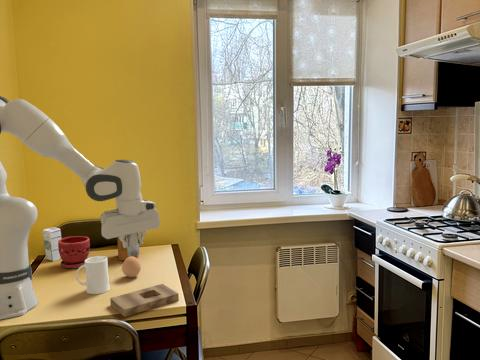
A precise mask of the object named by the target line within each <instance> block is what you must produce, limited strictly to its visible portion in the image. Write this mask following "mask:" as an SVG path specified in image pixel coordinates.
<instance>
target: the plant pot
mask: <svg viewBox="0 0 480 360" xmlns="http://www.w3.org/2000/svg"><path fill="white" fill-rule="evenodd" d="M90 247H91V243H90V238H89V237H88V236H85V235H84V236H83V235H77V236H75V235H74V236H67V237H63V238H62V237H61V239H60V240H59V241H58V248H59V254H60V257H61V259H60V260H62V261H60V265H61V267H63V268H65V269H78V268H79V267H80V266H82V265H84V264H85V260H86V259H87V258H89V257H88V256H89V254H90V249H91V248H90Z"/></svg>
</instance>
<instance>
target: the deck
mask: <svg viewBox="0 0 480 360" xmlns="http://www.w3.org/2000/svg"><path fill="white" fill-rule="evenodd" d="M179 298H180V297H179V293H178V292H177V291H176V290H174V289H172V288H170V287H169V286H166V285H165V284H164V283H161V284H157V285H153V286H149V287H145V288H142V289H139V290H136V291H135V290H134V291H132V292H128V293H123V294H121V295H120V294H119V295H117V296H113V297H110V299H109V300H110V306H111V307H113V309H114V310H116V311H117V312H118V313H119V314H120V315H121V316H122V317H124V318H126V317H129V316H133V315H136V314H139V313H142V312H145V311H148V310H153V309H155V308H158V307H162V306H165V305H167V304H171V303H174V302H178V301H179Z"/></svg>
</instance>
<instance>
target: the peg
mask: <svg viewBox="0 0 480 360" xmlns="http://www.w3.org/2000/svg"><path fill="white" fill-rule="evenodd" d="M138 238H139V232H138V233H133V234H129V235H126V240H127V242H128V243H129V244H128V245H129V247H127V251H128V256H137V255H138V256H139V255H140V253H141V252H140V244H139V240H138Z"/></svg>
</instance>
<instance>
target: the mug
mask: <svg viewBox="0 0 480 360" xmlns="http://www.w3.org/2000/svg"><path fill="white" fill-rule="evenodd" d="M108 263H109V262H108V256H104V255H96V256H95V255H94V256H90V257H87V259H86V260H85V264H84V265H82V266H80V267H78V268H77V270H76V271H75V280H76V281H77V283H78V284H80V285H82V286H86V293H87V294H89V295H100V294H103V293H106V292H109V290H110V289H111V286H110V278H109V264H108ZM81 269H85V279H86V281H85V282H83V281H80V280H79V278H78V273H79V272H80V270H81Z"/></svg>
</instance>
